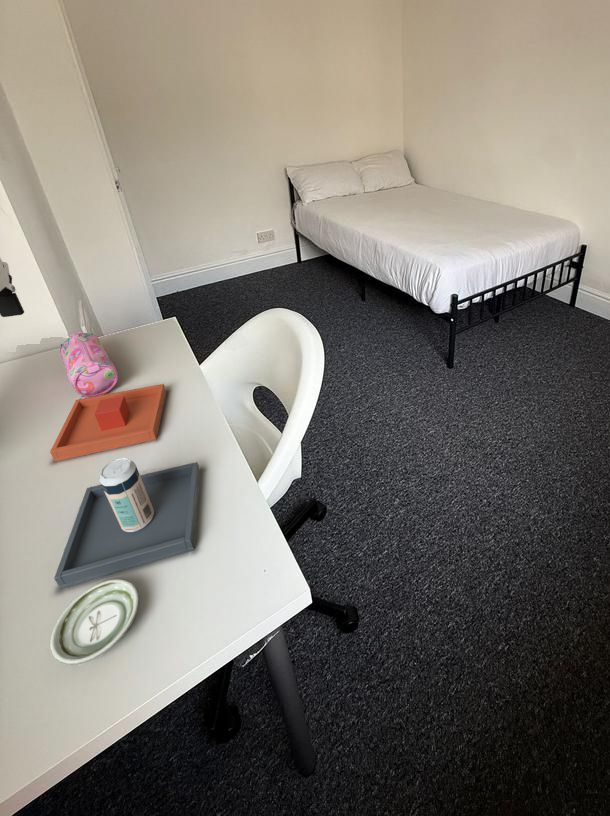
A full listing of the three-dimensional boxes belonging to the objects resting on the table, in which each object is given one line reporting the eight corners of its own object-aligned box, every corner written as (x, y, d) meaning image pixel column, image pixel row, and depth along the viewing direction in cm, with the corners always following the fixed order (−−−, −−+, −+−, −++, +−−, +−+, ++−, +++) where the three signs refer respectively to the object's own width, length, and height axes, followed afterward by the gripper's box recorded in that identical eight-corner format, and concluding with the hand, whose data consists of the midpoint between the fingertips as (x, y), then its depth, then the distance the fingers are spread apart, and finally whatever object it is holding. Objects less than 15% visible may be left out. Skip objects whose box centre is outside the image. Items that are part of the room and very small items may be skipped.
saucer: (153, 627, 54) (148, 617, 53) (65, 694, 48) (58, 684, 47) (130, 573, 61) (125, 563, 59) (50, 627, 55) (43, 617, 54)
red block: (101, 431, 85) (94, 414, 83) (106, 416, 89) (100, 400, 87) (125, 425, 87) (119, 409, 85) (130, 411, 90) (124, 395, 88)
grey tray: (60, 589, 59) (53, 578, 58) (91, 498, 72) (86, 487, 71) (194, 550, 64) (190, 539, 62) (200, 471, 77) (197, 461, 76)
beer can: (150, 501, 70) (130, 450, 65) (158, 521, 67) (137, 469, 62) (118, 518, 68) (94, 466, 62) (125, 540, 64) (100, 487, 59)
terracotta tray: (54, 461, 79) (49, 451, 78) (80, 408, 92) (76, 399, 91) (156, 439, 84) (152, 430, 83) (166, 392, 97) (163, 383, 96)
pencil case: (65, 365, 107) (52, 335, 103) (106, 352, 112) (95, 323, 108) (79, 407, 93) (64, 374, 89) (124, 390, 98) (113, 358, 94)
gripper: (-49, 214, 66) (-3, 309, 74) (-128, 249, 52) (-60, 362, 60) (7, 210, 68) (46, 302, 76) (-54, 242, 54) (3, 352, 62)
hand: (0, 328), depth 68 cm, fingers open, 9 cm apart
